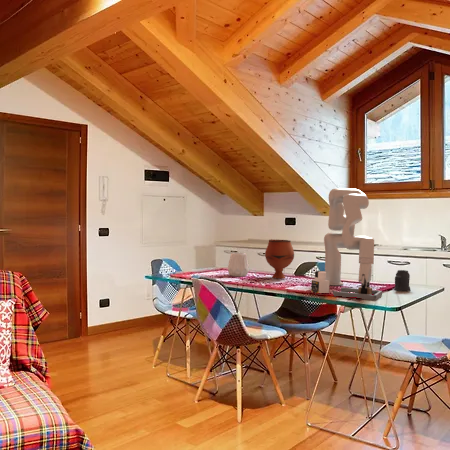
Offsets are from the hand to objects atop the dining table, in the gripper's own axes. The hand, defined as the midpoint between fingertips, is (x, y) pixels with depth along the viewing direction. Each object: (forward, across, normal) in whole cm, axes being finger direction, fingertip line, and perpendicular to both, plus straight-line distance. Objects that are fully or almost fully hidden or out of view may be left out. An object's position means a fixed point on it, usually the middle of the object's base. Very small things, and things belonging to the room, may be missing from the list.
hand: (365, 294), depth 264 cm
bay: (+1, 0, -4) cm, 4 cm away
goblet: (+2, -39, -65) cm, 76 cm away
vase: (+2, -33, -92) cm, 98 cm away
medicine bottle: (+2, +2, -24) cm, 24 cm away
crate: (+1, 0, 0) cm, 1 cm away
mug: (+2, -32, +13) cm, 34 cm away
